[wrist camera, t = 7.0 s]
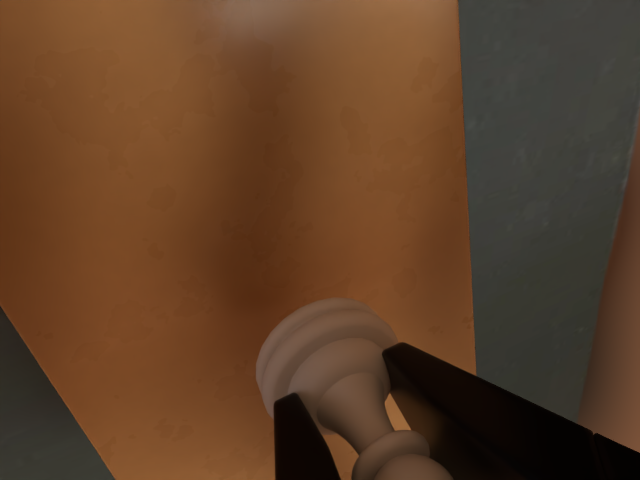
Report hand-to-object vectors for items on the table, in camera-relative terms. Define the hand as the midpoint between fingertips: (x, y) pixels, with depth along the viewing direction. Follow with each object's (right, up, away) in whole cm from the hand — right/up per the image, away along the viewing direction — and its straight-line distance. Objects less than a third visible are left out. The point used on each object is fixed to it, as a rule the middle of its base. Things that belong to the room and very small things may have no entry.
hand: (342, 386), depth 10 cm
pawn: (-1, 0, +1) cm, 1 cm away
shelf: (-4, +4, +8) cm, 10 cm away
